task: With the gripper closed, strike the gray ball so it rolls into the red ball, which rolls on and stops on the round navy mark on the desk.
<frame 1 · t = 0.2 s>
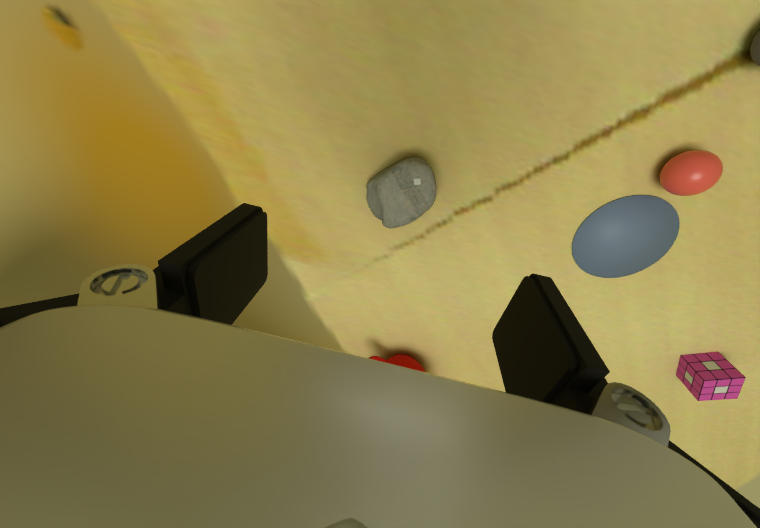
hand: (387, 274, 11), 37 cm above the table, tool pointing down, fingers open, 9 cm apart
stone: (399, 186, 46), on the table
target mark: (622, 239, 46), on the table
object ball: (689, 173, 38), on the table
puzzle toy: (695, 362, 57), on the table
ceramic cup: (396, 358, 67), on the table
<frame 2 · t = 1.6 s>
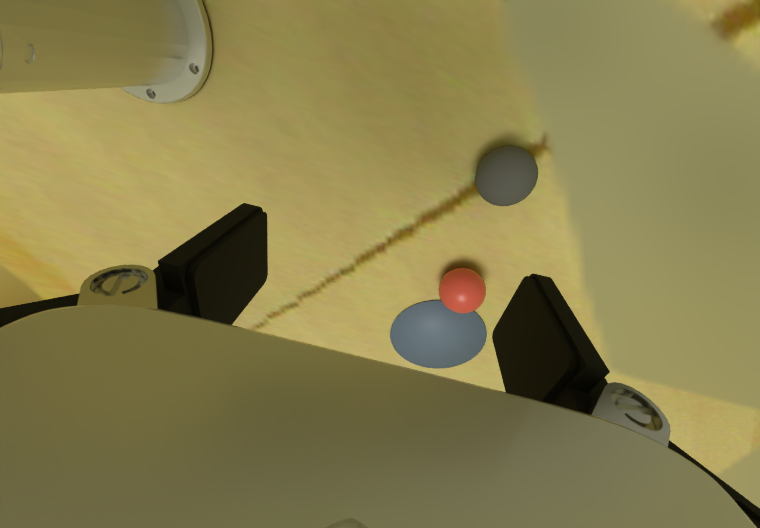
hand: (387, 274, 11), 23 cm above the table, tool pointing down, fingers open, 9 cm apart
gray ball: (505, 176, 28), on the table
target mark: (437, 336, 44), on the table
object ball: (461, 290, 36), on the table
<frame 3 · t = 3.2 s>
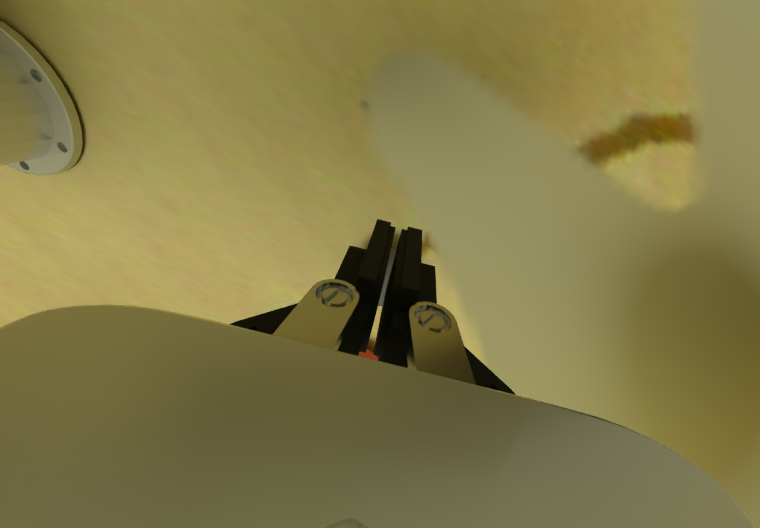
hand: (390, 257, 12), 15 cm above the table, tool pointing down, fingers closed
gray ball: (381, 275, 27), on the table
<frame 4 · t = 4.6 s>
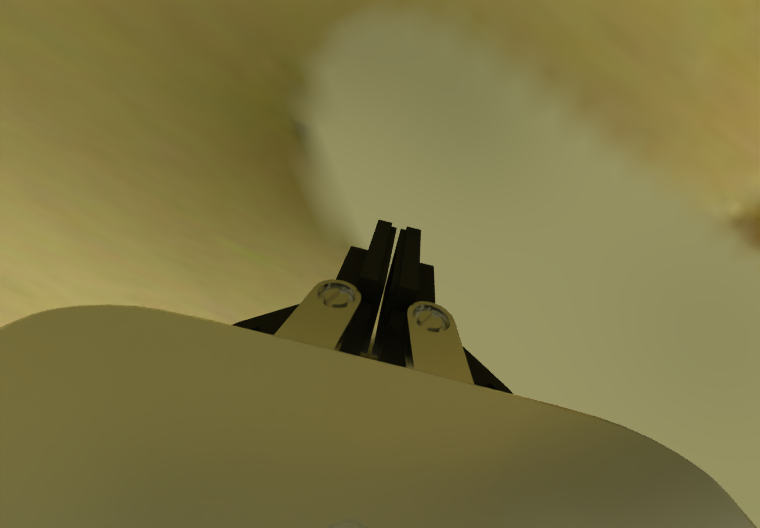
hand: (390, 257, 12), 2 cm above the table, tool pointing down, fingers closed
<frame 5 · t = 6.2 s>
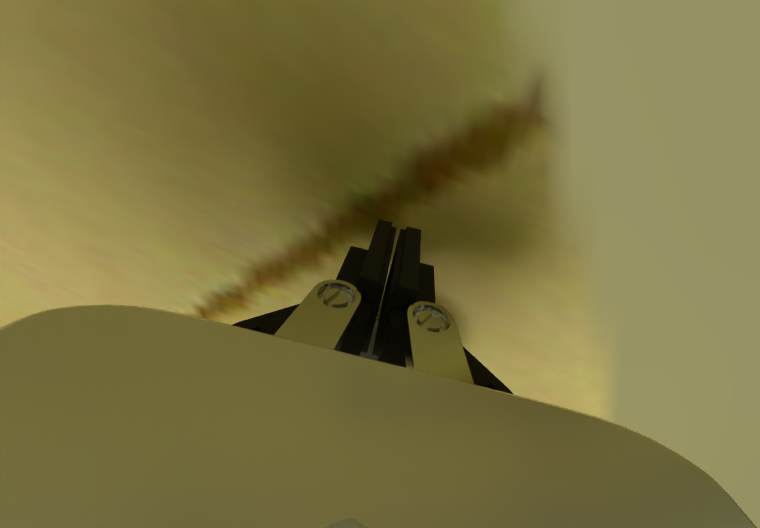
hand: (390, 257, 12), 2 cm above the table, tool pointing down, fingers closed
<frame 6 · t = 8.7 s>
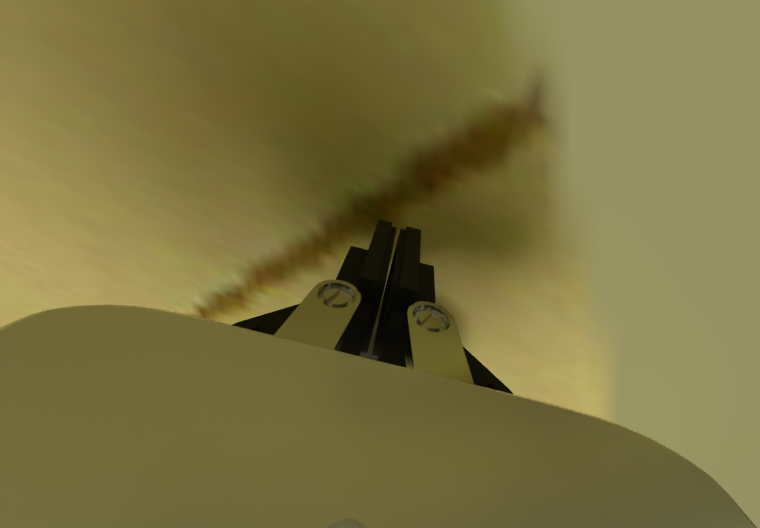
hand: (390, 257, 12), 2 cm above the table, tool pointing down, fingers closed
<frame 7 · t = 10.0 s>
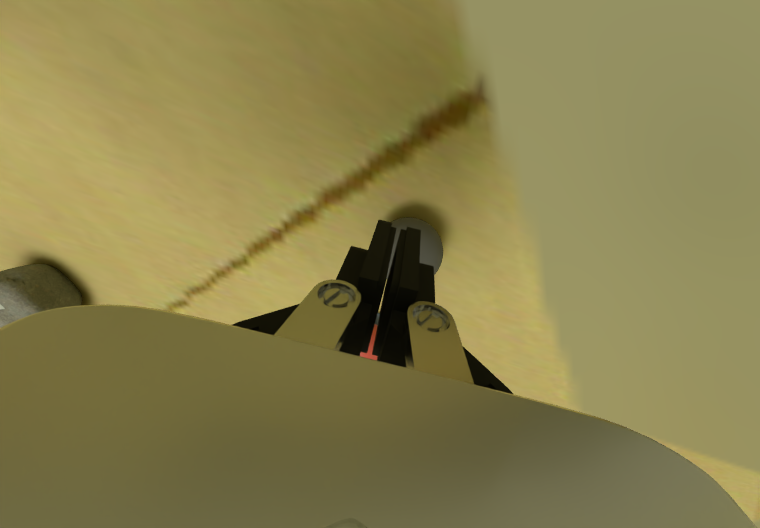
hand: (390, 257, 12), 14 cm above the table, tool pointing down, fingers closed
gray ball: (408, 252, 24), on the table
stone: (57, 290, 37), on the table
object ball: (363, 348, 31), on the table
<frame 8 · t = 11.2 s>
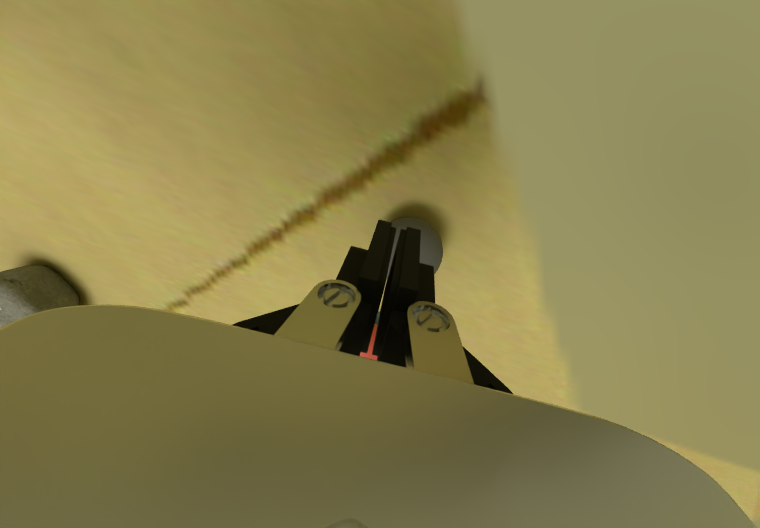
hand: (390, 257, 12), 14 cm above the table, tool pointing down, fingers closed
gray ball: (407, 251, 24), on the table
stone: (55, 291, 37), on the table
object ball: (362, 348, 31), on the table
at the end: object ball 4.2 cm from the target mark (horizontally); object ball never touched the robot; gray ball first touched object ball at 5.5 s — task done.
